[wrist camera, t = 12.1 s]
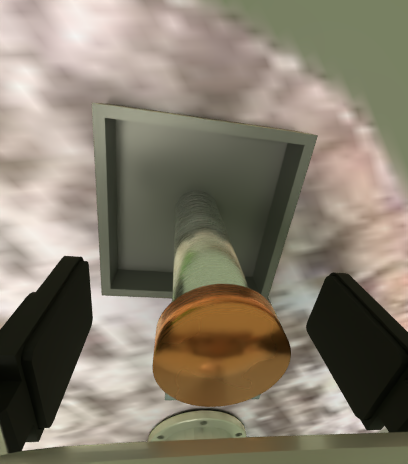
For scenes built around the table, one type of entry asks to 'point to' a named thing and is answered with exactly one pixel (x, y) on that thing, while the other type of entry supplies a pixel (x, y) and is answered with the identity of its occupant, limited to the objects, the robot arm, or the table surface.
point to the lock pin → (214, 318)
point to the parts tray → (189, 179)
